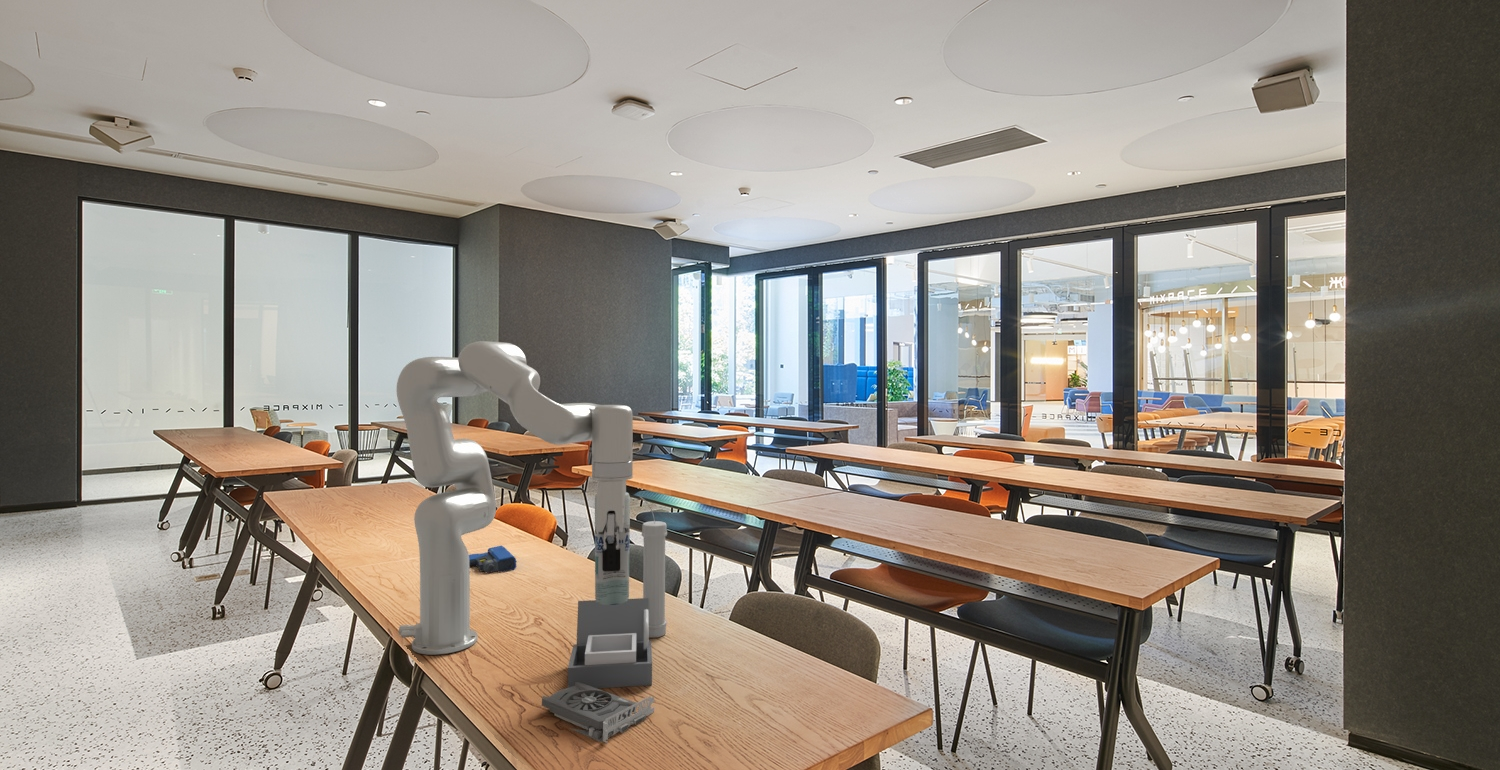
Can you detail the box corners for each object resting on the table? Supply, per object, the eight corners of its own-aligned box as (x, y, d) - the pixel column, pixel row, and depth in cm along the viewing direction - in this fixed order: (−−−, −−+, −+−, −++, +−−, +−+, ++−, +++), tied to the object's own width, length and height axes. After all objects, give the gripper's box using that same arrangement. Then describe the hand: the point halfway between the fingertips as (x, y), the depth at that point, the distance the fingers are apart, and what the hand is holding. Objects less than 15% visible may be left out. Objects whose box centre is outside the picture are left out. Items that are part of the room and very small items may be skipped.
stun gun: (461, 567, 195) (516, 555, 203) (452, 554, 209) (504, 543, 216) (463, 582, 196) (518, 569, 203) (453, 568, 209) (505, 556, 217)
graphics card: (659, 696, 118) (606, 723, 108) (658, 718, 118) (605, 747, 108) (589, 671, 128) (535, 694, 118) (589, 692, 128) (535, 717, 118)
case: (567, 690, 127) (567, 628, 127) (575, 654, 143) (575, 599, 142) (651, 684, 129) (652, 624, 129) (650, 650, 145) (650, 596, 145)
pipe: (661, 639, 151) (662, 499, 150) (634, 637, 152) (634, 498, 152) (669, 630, 156) (670, 495, 156) (643, 627, 158) (643, 494, 157)
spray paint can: (592, 596, 135) (592, 492, 135) (626, 592, 137) (626, 490, 137) (597, 606, 129) (597, 497, 129) (632, 603, 131) (632, 495, 131)
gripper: (594, 464, 141) (594, 554, 141) (588, 477, 123) (588, 579, 124) (633, 464, 142) (632, 553, 142) (632, 477, 125) (631, 577, 125)
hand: (612, 564), depth 133 cm, fingers closed on spray paint can, 6 cm apart
